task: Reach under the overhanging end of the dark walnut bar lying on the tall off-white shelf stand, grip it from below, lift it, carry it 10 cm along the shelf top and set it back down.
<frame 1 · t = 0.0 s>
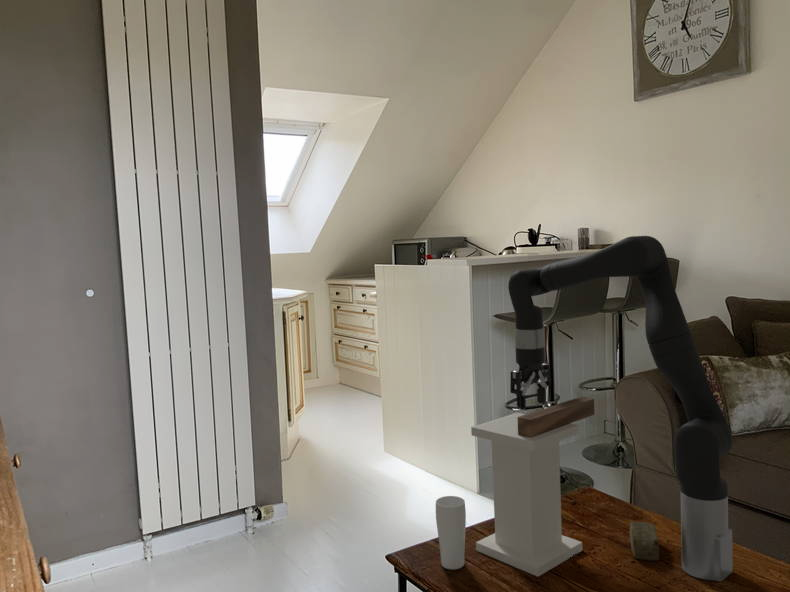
hand: (531, 405, 174), 29 cm above the table, tool pointing down, fingers open, 8 cm apart
stone block: (644, 551, 153), on the table
walnut bar: (557, 424, 153), point 30 cm above the table, touching shelf stand
shelf stand: (528, 550, 155), on the table
drinking glass: (452, 565, 150), on the table
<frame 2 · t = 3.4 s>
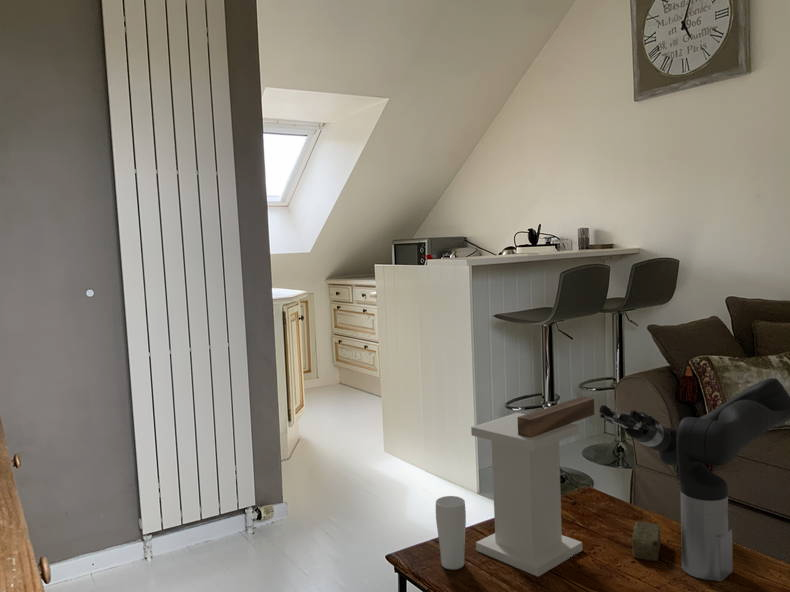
hand: (616, 411, 170), 28 cm above the table, tool pointing upward, fingers open, 8 cm apart
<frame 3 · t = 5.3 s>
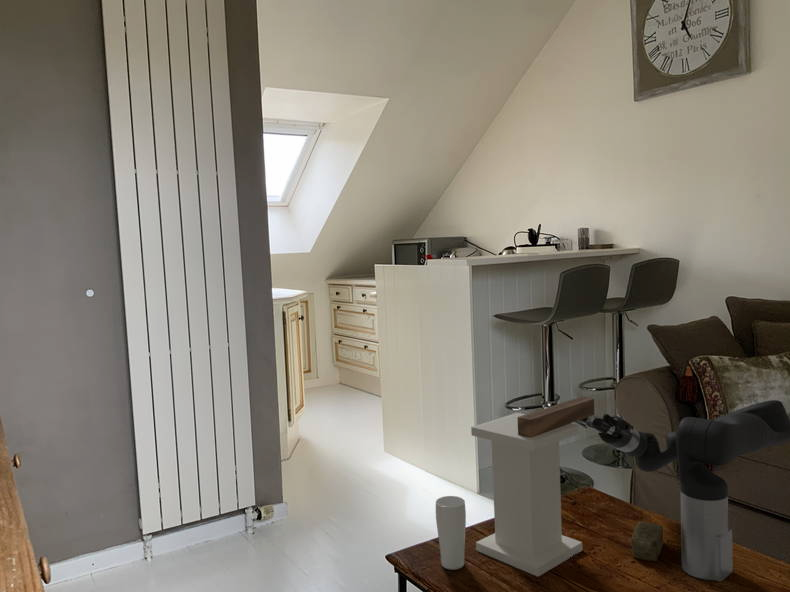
hand: (588, 414, 163), 29 cm above the table, tool pointing upward, fingers open, 8 cm apart
nothing on the table moved.
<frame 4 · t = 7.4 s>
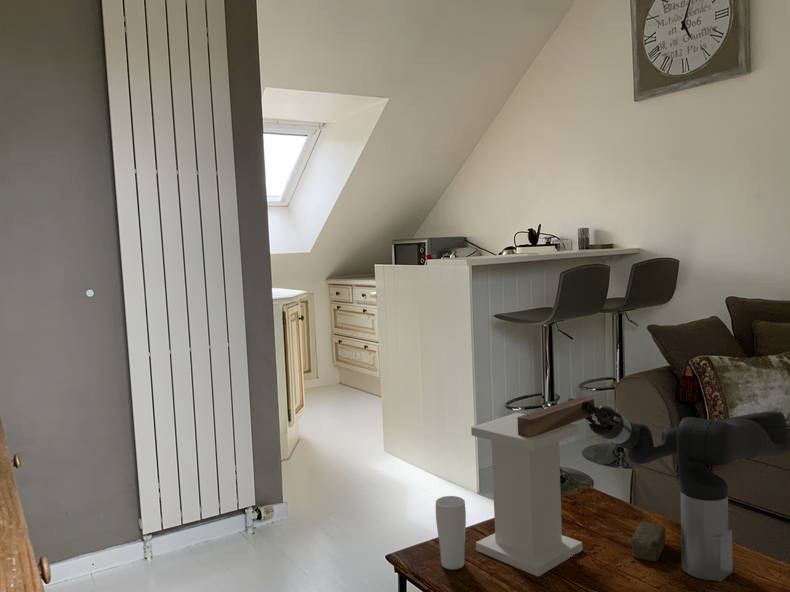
hand: (576, 403, 158), 33 cm above the table, tool pointing upward, fingers closed on walnut bar, 3 cm apart
walnut bar: (557, 424, 153), point 30 cm above the table, touching gripper, shelf stand
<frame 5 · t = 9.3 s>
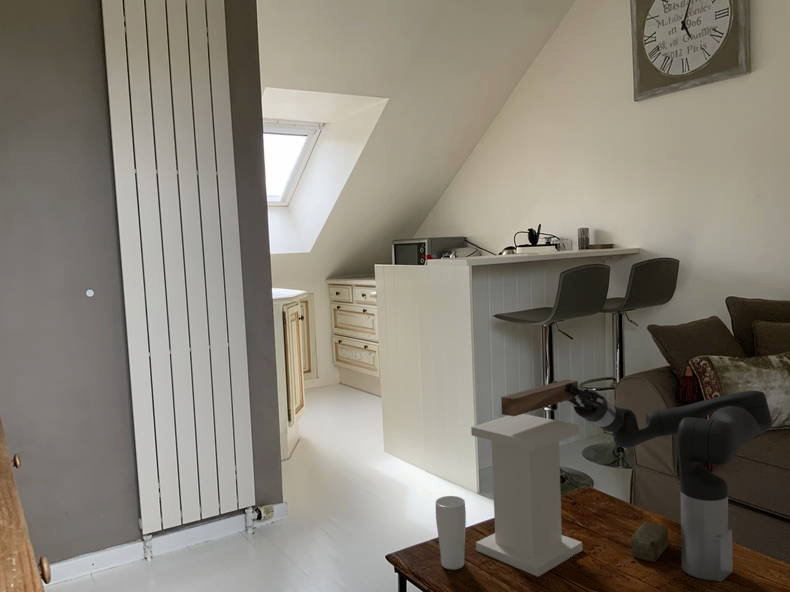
hand: (559, 385, 161), 37 cm above the table, tool pointing upward, fingers closed on walnut bar, 3 cm apart
walnut bar: (541, 405, 157), point 34 cm above the table, touching gripper
when the fingers open (34 cm above the table, at t = 11.1 s): walnut bar stays where it is, resting on shelf stand.
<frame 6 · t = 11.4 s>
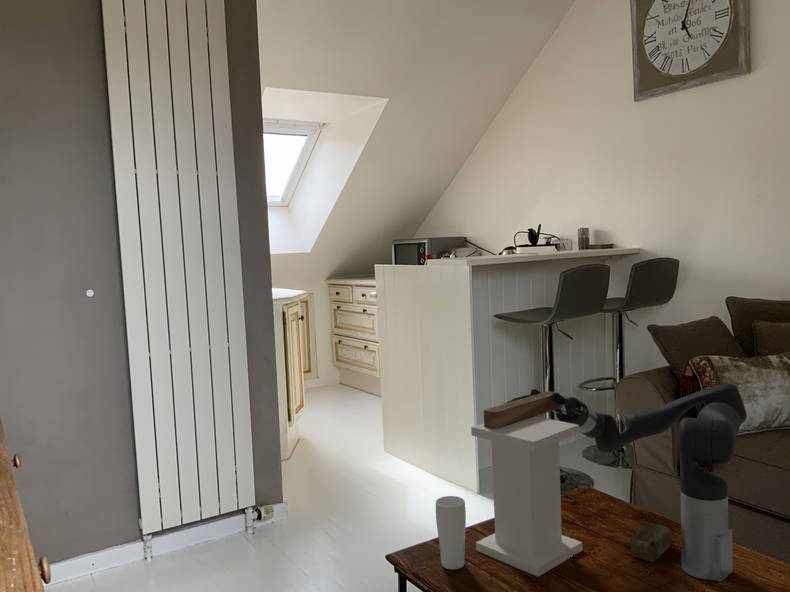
hand: (542, 394, 165), 34 cm above the table, tool pointing upward, fingers open, 6 cm apart
walnut bar: (523, 417, 160), point 30 cm above the table, touching shelf stand
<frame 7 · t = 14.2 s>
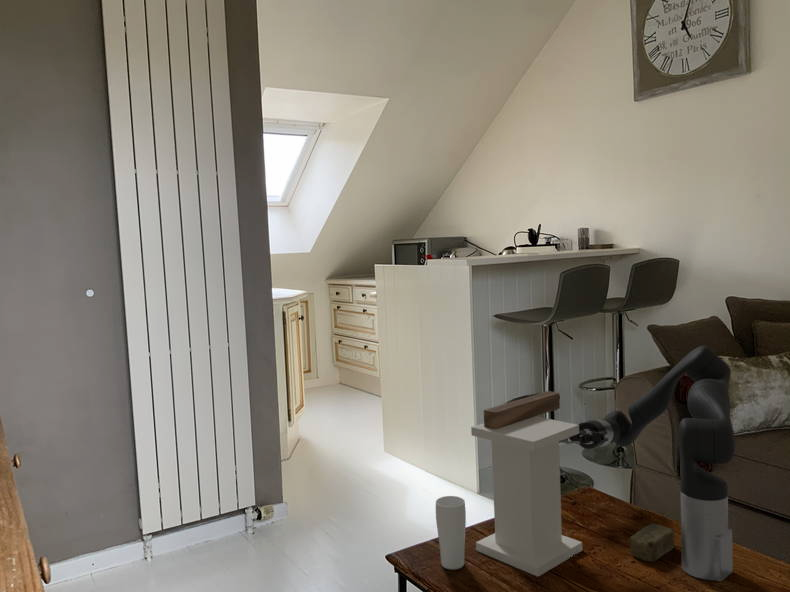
hand: (565, 439, 170), 21 cm above the table, tool horizontal, fingers open, 8 cm apart
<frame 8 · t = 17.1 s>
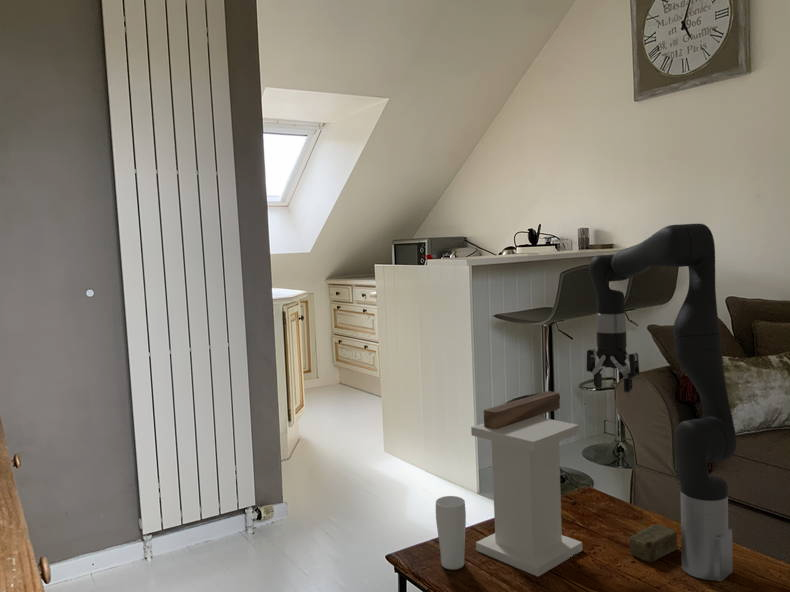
hand: (612, 389, 176), 32 cm above the table, tool pointing down, fingers open, 8 cm apart
at the end: walnut bar 0.0 cm from the target spot, point 30.0 cm above the table; the gripper is holding nothing; walnut bar moved 10.0 cm from its start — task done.
